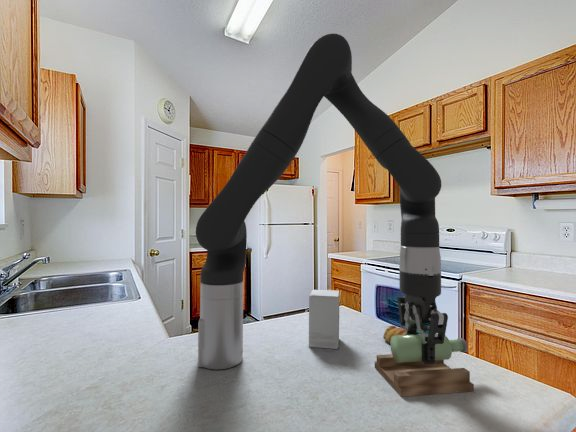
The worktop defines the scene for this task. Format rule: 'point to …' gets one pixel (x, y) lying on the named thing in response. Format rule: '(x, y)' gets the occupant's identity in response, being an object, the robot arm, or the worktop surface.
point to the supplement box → (324, 319)
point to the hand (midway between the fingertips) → (420, 356)
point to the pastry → (393, 332)
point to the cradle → (423, 377)
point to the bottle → (411, 348)
